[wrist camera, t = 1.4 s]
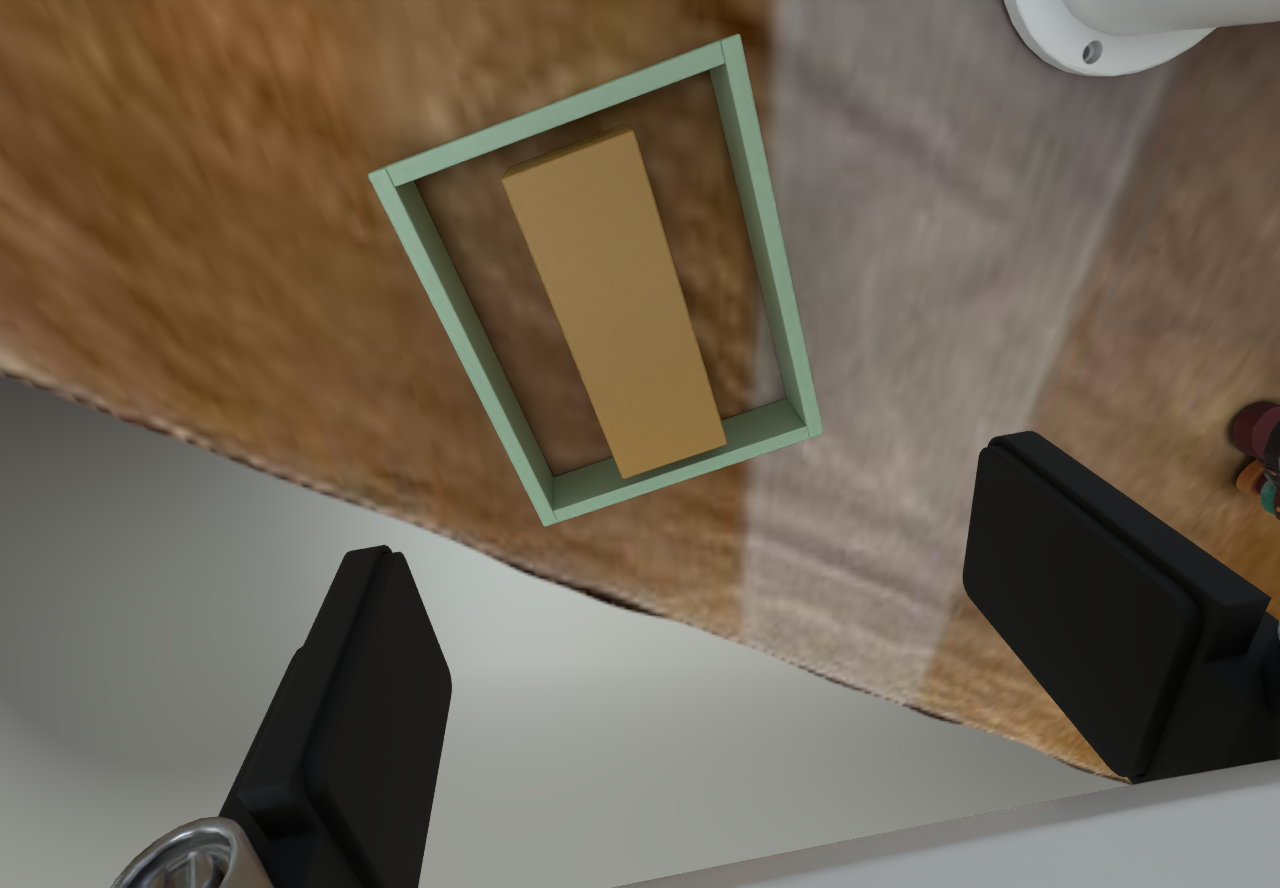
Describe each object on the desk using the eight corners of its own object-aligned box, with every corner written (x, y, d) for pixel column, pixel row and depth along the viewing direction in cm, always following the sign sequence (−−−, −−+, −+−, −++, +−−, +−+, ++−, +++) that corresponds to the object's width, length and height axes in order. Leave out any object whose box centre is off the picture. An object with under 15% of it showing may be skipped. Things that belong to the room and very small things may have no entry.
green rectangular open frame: (721, 39, 28) (740, 32, 25) (802, 405, 37) (824, 434, 34) (387, 165, 29) (366, 174, 26) (545, 492, 38) (544, 527, 35)
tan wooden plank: (624, 124, 29) (633, 129, 25) (710, 407, 36) (728, 444, 33) (508, 167, 30) (500, 179, 26) (616, 439, 37) (622, 480, 33)
